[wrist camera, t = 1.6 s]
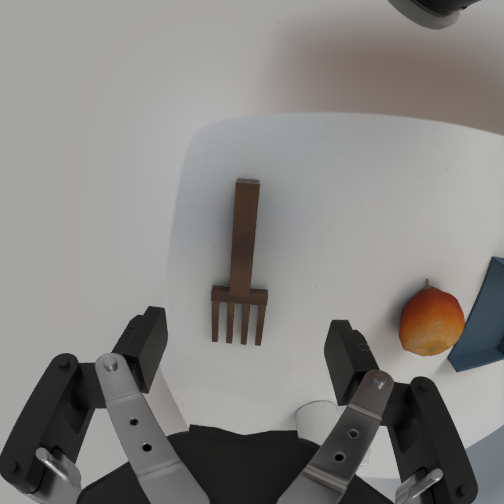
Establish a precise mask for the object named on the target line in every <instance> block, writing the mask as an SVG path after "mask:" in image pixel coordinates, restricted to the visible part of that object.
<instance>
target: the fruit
mask: <svg viewBox="0 0 504 504" xmlns="http://www.w3.org/2000/svg"><path fill="white" fill-rule="evenodd" d="M464 326H465V321H464V314H463V311H462V309H461V307H460V305H459V302H458V301H457V299H456V298H455V297H454V296H453V295H451V294H449V293H446V292H443V291H441V290H439V289H437V288H434V287H432V286H430V285H429V281H428V279H426V288H425V289H423V290H421V291H420V292H419V293H417V294H416V295H415V296H414V297H412V299H411V300H410V301H409V303H408V304H407V306H406V307H405V309H404V310H403V311H402V314H401V319H400V324H399V338H400V341H401V344H402V347H403V349H404V350H406V351H410V352H412V353H415V354H417V355H421V356H432V355H437V354H440V353H442V352H444V351H445V350H447V349H449V348H450V347H451V346H453V345H455V344H456V342H457V341H458V340H459V338H460V336H461V334H462V332H463V330H464Z"/></svg>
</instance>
